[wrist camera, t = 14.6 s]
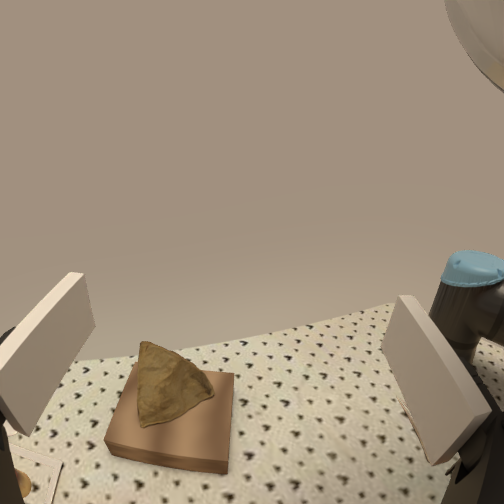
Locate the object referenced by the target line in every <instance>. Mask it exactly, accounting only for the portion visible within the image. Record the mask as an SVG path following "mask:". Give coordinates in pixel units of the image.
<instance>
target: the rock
mask: <svg viewBox="0 0 504 504" xmlns="http://www.w3.org/2000/svg"><path fill="white" fill-rule="evenodd" d="M137 379H138V384H137V410H138V416H139V421H140V427H142V428H145V427H146V426H148V425H152V424H156V423H163V422H167V421H171V420H172V419H174V418H176V417H178V416H181V415H182V414H183V413H185V412H186V411H187V410H188V409H190V408H191V407H194V406H195V405H197V404H198V403H199V402H200V401H201V400H204V399H207V398H209V397H212V396H213V395H214V394H215V392H214V389H213V386H212V384H211V383H210V381H209V380H208V378H207V376H206V375H205V373H204V372H203V371H201V370H200V369H198V368H197V367H196V365H195V364H194V363H192V362H190V361H188V360H186V359H184V358H183V357H181V356H180V355H179V354H177V353H176V352H174V351H169V350H167V349H165V348H163V347H160V346H158V345H155V344H153V343H151V342H148V341H147V342H146V341H142V342H141V343H140V350H139V358H138V372H137Z"/></svg>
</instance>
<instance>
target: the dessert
mask: <svg viewBox="0 0 504 504" xmlns="http://www.w3.org/2000/svg"><path fill="white" fill-rule="evenodd" d="M9 447H10V452H12V453H14V454H16V455H19V456H22V457H24V458H27V459H29V460H32V461H35V462H38V463H41V464H44V465H47V466H50V467H53V468H54V470H53V473H52V477H51V480H50V484H49V487H48V491H47V494H46V498H45V502H44V504H51V503H52V499H53V495H54V491H55V487H56V483H57V480H58V476H59V473H60V469H61V466H62V463H63V461H61V460H58V459H54V458H51V457H48V456H45V455H42V454H39V453H36V452H33V451H30V450H28V449H25V448H22V447H20V446H17V445H14V444H12V443H9ZM14 469H15V468H14ZM15 473H16V477H17V480H18V484H19V487H20V491H21V494H22V497H23V498H24V497H26V496H27V495H28V494H29V493H30V491H31V481H30V479H29V477H28V476H27V475H26V474H25V473H24V472H21V471H19V470H17V469H15Z"/></svg>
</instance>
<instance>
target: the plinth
mask: <svg viewBox="0 0 504 504" xmlns="http://www.w3.org/2000/svg"><path fill="white" fill-rule="evenodd" d="M201 371H203V372H204V373H205V375H206V376H207V378H208V380H209V381H210V383H211V384H212V386H213V389H214V392H215V394H214V395H213V396H212V397H209V398H207V399H204V400H201V401H200V402H199V403H198V404H197V405H195V406H194V407H191V408H190V409H188V410H187V411H186V412H185V413H183V414H182V415H181V416H178V417H176V418H174V419H172V420H171V421H167V422H163V423H156V424H152V425H148V426H146V427H145V428H142V427H140V421H139V416H138V410H137V384H138V379H137V372H138V362H135V364H134V366H133V368H132V371H131V373H130V375H129V378H128V380H127V382H126V385H125V387H124V390H123V392H122V394H121V397H120V399H119V402H118V404H117V407H116V409H115V412H114V414H113V417H112V419H111V422H110V424H109V427H108V430H107V432H106V435H105V437H104V442H105V443H106V445H107V447H108V449H109V451H110V452H111V454H112V455H114V456H118V457H122V458H126V459H130V460H134V461H139V462H144V463H148V464H153V465H159V466H164V467H170V468H176V469H183V470H190V471H198V472H207V473H218V474H227V472H228V458H229V443H230V429H231V415H232V401H233V386H234V373H226V372H214V371H204V370H201Z"/></svg>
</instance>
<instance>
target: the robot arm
mask: <svg viewBox="0 0 504 504" xmlns="http://www.w3.org/2000/svg"><path fill="white" fill-rule="evenodd" d="M445 6H446V10H447V14H448V17H449V20H450V22H451V25H452V27H453V30H454V32H455V33H456V36H457V37H458V39H459V41H460V43H461V44H462V46H463V48H464V49H465V51H466V52H467V54H468V55H469V57H470V58H471V60H472V61H473V63H474V64H475V65H476V66H477V68H478V69H479V70H480V71H481V72H482V73H483V74H484V75H485V76H486V77H487V78H488V79H489V80H490V81H491V83H492V84H493V85H494V86H495V87H497V88H498V89H499V90H500V91H502V92H503V93H504V0H445ZM95 327H96V326H95V322H94V318H93V314H92V309H91V305H90V300H89V295H88V290H87V285H86V280H85V275H84V274H82V273H73V272H70V273H69V274H68V275H66V277H64V278H63V279H62V280H61V281H60V282H59V283H58V284H57V285H56V286H55V287H54V288H53V289H52V290H51V291H50V292H49V293H48V294H47V295H46V296H45V297H44V298H43V299H42V301H40V302H39V303H38V304H37V306H36V307H35V308H34V309H33V310H32V311H31V312H30V313H29V314H28V315H27V316H26V317H25V318H24V319H23V320H22V321H21V323H20V324H19V325H18V326H17V327H13V328H12V329H10V330H8V331H7V332H5V333H4V334H3V335H2V336H1V338H0V504H25V503H24V500H23V497H22V494H21V491H20V487H19V484H18V480H17V477H16V473H15V469H14V465H13V461H12V456H11V452H10V447H9V442H8V437H7V432H6V429H5V427H4V426H3V424H4V423H5V421H6V420H7V421H8V423H9V424H10V425H11V427H12V428H13V430H15V431H17V432H19V433H21V434H23V435H26V436H28V437H30V435H31V433H32V431H33V429H34V427H35V426H36V424H37V422H38V420H39V418H40V416H41V415H42V413H43V411H44V409H45V408H46V406H47V404H48V402H49V401H50V399H51V397H52V395H53V394H54V392H55V390H56V389H57V387H58V385H59V383H60V382H61V380H62V378H63V377H64V375H65V374H66V372H67V370H68V369H69V367H70V365H71V364H72V362H73V361H74V359H75V357H76V356H77V354H78V353H79V351H80V349H81V348H82V346H83V345H84V343H85V342H86V340H87V339H88V337H89V336H90V334H91V333H92V331H93V330H94V328H95ZM481 337H484V338H486V339H488V340H490V341H493V342H495V343H497V344H499V345H501V346H503V347H504V260H503V259H500V258H498V257H496V256H494V255H492V254H488V253H485V252H479V251H472V250H466V251H465V250H464V251H458V252H455V253H454V254H452V255H451V256H450V258H449V259H448V262H447V265H446V267H445V270H444V272H443V274H442V275H441V282H440V285H439V288H438V291H437V294H436V297H435V299H434V302H433V305H432V307H431V310H430V312H429V315H428V314H427V313H426V312H425V310H424V309H423V308H422V306H421V305H420V304H419V302H418V301H417V300H416V299H415V297H414V296H412V295H411V296H410V295H398V298H397V301H396V304H395V307H394V310H393V313H392V316H391V319H390V322H389V325H388V328H387V330H386V333H385V336H384V339H383V341H382V344H381V348H382V350H383V352H384V355H385V357H386V359H387V361H388V363H389V365H390V368H391V370H392V372H393V374H394V376H395V379H396V381H397V383H398V385H399V388H400V390H401V392H402V394H403V397H404V399H405V401H406V404H407V406H408V408H409V411H410V413H411V415H412V418H413V420H414V423H415V425H416V428H417V430H418V433H419V435H420V438H421V440H422V443H423V445H424V448H425V450H426V453H427V456H428V458H429V461H430V464H431V466H435V465H438V464H441V463H444V462H448V461H449V460H450V459H451V458H452V457H453V456H454V455H455V454H456V453H457V452H458V453H459V455H460V457H461V458H460V459H459V460H458V461H457V462H456V463H455V464H454V465H453V466H452V467H451V468H450V469H449V470H448V471H447V472H446V474H445V475H446V476H447V475H449V474H450V473H451V472H452V471H453V470H454V471H453V474H452V476H451V479H450V482H449V485H448V487H447V490H446V492H445V495H444V497H443V500H442V502H441V504H504V412H502V411H501V410H500V408H499V406H498V405H497V403H496V402H495V400H494V398H493V397H492V395H491V394H490V392H489V390H488V389H487V387H486V386H485V384H483V381H482V380H481V378H480V377H478V374H477V372H476V371H475V369H474V368H473V366H472V363H473V359H474V356H475V351H476V347H477V345H478V343H479V341H480V339H481Z"/></svg>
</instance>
